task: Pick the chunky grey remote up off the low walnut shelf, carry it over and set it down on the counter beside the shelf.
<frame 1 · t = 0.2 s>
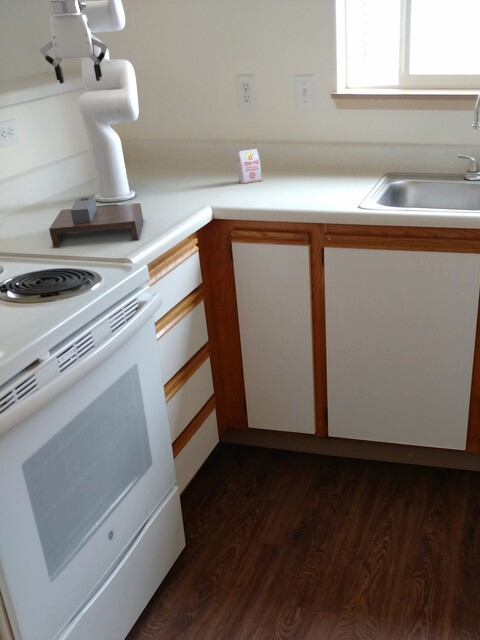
hand: (80, 81, 204), 36 cm above the worktop, tool pointing down, fingers open, 9 cm apart
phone: (104, 215, 225), on the worktop
grey remote: (85, 216, 205), point 5 cm above the worktop, touching shelf
shelf: (100, 233, 208), on the worktop
white paper food bag: (250, 181, 255), on the worktop
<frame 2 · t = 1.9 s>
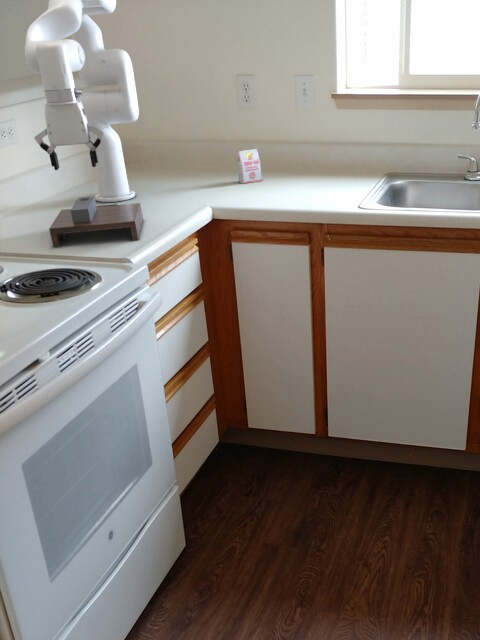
hand: (75, 167, 199), 18 cm above the worktop, tool pointing down, fingers open, 9 cm apart
nothing on the worktop moved.
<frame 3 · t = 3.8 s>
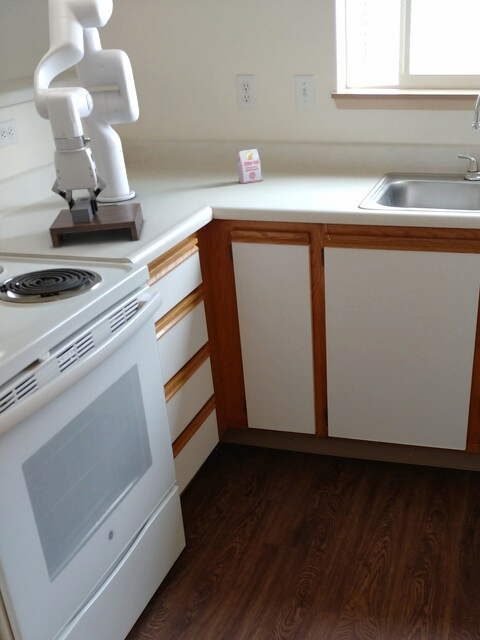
hand: (85, 214, 205), 6 cm above the worktop, tool pointing down, fingers closed on grey remote, 4 cm apart
grey remote: (85, 216, 205), point 5 cm above the worktop, touching gripper, shelf
everything else where it was.
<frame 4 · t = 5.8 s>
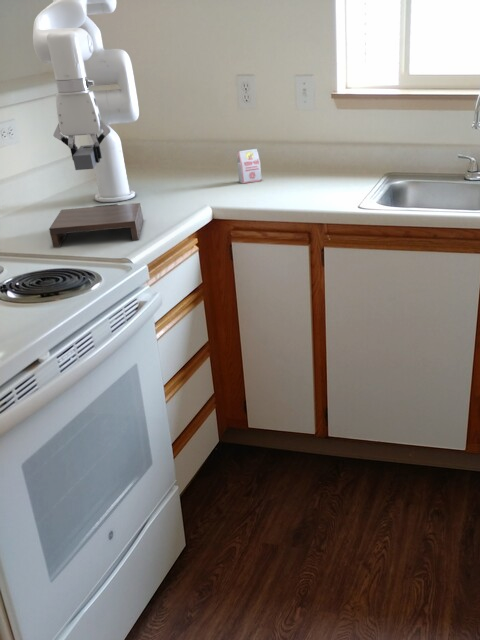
hand: (87, 161, 198), 19 cm above the worktop, tool pointing down, fingers closed on grey remote, 4 cm apart
grey remote: (88, 164, 199), point 18 cm above the worktop, touching gripper
everything else where it was.
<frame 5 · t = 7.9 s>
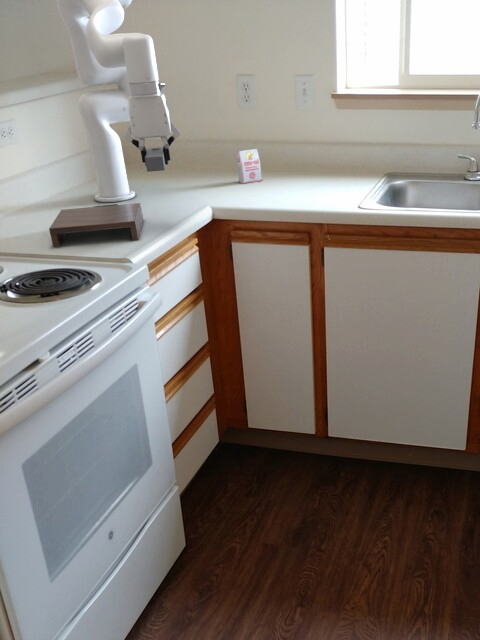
hand: (156, 163, 201), 17 cm above the worktop, tool pointing down, fingers closed on grey remote, 4 cm apart
grey remote: (157, 165, 201), point 16 cm above the worktop, touching gripper
everything else where it was.
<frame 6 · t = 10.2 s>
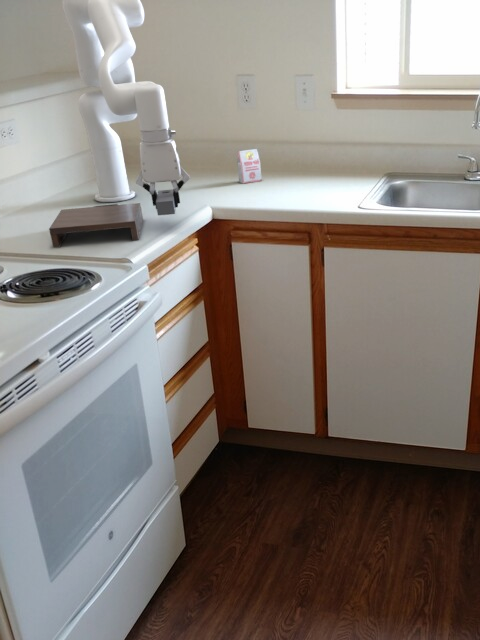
hand: (167, 206, 207), 6 cm above the worktop, tool pointing down, fingers closed on grey remote, 4 cm apart
grey remote: (167, 208, 207), point 5 cm above the worktop, touching gripper
everything else where it was.
when the fingers open (1 cm above the worktop, at t = 11.9 s): grey remote stays where it is, on the worktop.
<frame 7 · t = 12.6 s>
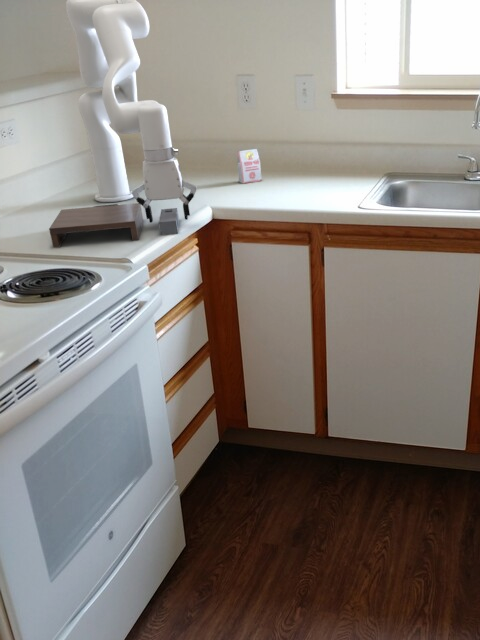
hand: (168, 219, 209), 2 cm above the worktop, tool pointing down, fingers open, 9 cm apart
grey remote: (170, 227, 209), on the worktop
everything else where it was.
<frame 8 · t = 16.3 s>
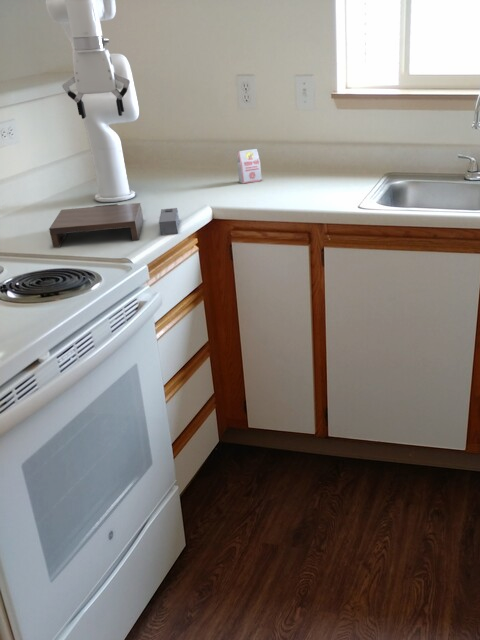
hand: (102, 116, 202), 28 cm above the worktop, tool pointing down, fingers open, 9 cm apart
nothing on the worktop moved.
at the end: grey remote on the worktop; grey remote inside the target area (0.5 cm from its centre), on the worktop; the gripper is holding nothing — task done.
